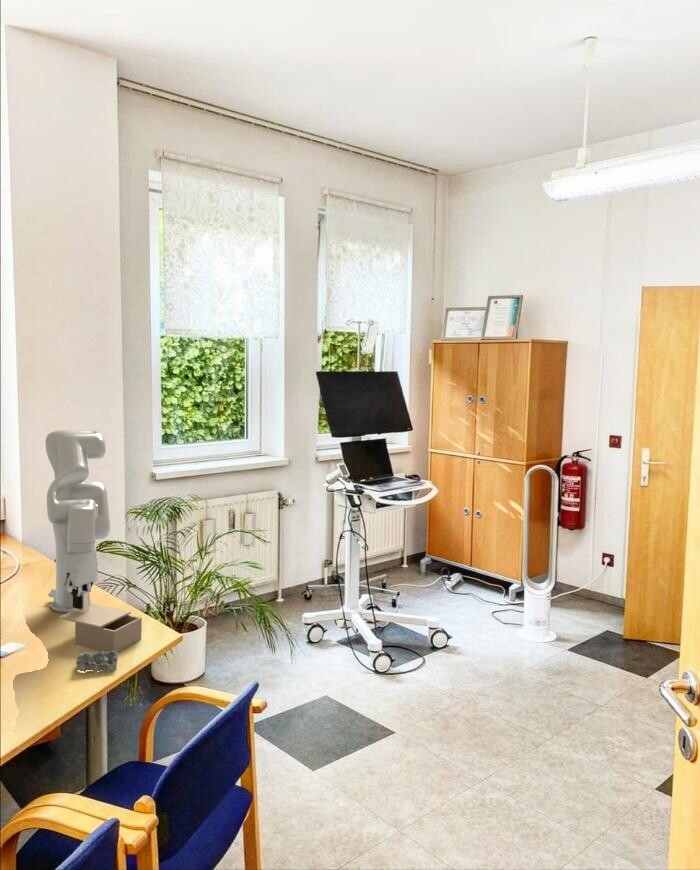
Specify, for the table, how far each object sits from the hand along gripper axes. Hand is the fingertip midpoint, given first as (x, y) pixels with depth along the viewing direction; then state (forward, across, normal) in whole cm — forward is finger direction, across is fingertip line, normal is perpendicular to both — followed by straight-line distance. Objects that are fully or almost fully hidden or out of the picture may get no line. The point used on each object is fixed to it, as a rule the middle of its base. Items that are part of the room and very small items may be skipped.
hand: (80, 606), depth 211 cm
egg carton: (+9, +15, +19) cm, 26 cm away
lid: (+2, 0, +6) cm, 6 cm away
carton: (+9, 0, +10) cm, 14 cm away
